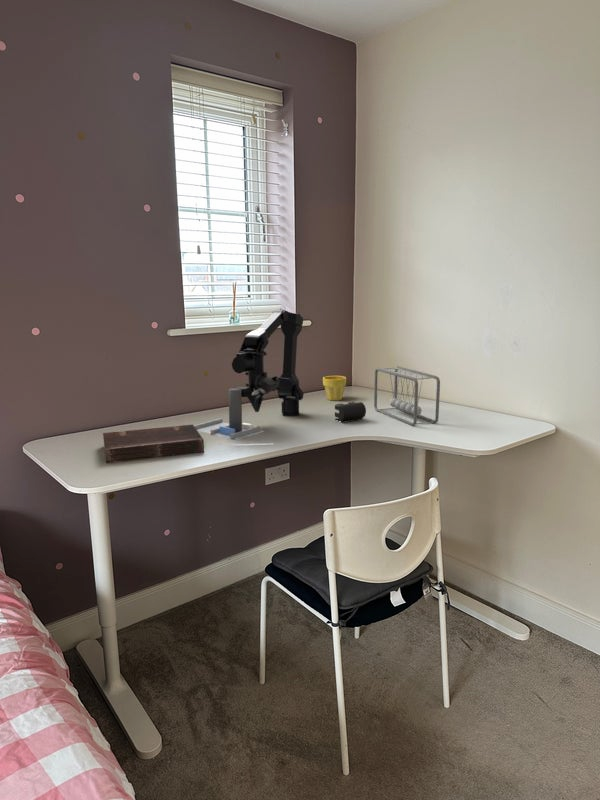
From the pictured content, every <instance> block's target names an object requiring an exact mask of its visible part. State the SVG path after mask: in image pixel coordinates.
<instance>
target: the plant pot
mask: <svg viewBox="0 0 600 800" xmlns="http://www.w3.org/2000/svg"><path fill="white" fill-rule="evenodd" d="M322 385H323V386H324V390H325V394H326V399H327V400H328V401H342V400H343V398H344V391H345V387H346V386H347V377H346V376H343V375H327V376H323V377H322Z"/></svg>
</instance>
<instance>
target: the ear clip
mask: <svg viewBox="0 0 600 800" xmlns="http://www.w3.org/2000/svg"><path fill="white" fill-rule="evenodd" d="M253 427H254V424H252V423H248V422H242V428H245V429H250V428H253Z"/></svg>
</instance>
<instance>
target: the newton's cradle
mask: <svg viewBox="0 0 600 800" xmlns="http://www.w3.org/2000/svg"><path fill="white" fill-rule="evenodd" d="M391 369H394V370H391ZM379 372H382V373H385V374H389V377H390V378H392V377H391V375H393V376H394V383H393V382H392V380H390V383H391V385H393V384H394V387H391V390H392V392H393V394H392V397H393V398H391V399H390V400H389V406H390V407H388V408H379V407H378V373H379ZM403 372H404V373H403ZM407 373H408V374H407ZM409 374H412V375H409ZM414 375H415V376H414ZM418 376H420V378H418ZM398 378H401V379H403V380H406V383H408V384H410V382H411V383H412V384H411V385H412V386H413V388H412V389H413V390H412V394H414V395H412V397H411V399H413V398H414V399H413V400H414V402H413V400H411V401H410V400H408V401H407V400H405V399H407V398H410V394H409V389H410V385H406V387H407V389H406V390H407V392H406V394H407V395H406V398H405V397H404V395H403V392H404V390H403V389H404V386H401V393H400V396H402V397H399V395H398V393H399V390H398V386H399V384H398V383H399V380H400V379H398ZM427 379H428V380H430V379H434V380H436V395H435V400H436V401H435V419H432V418H430V417H426V416H424V415H421V414H422V408H421V406H420V405H419V401H420V397H419V396H420V393H421V392H419V391H421V388H422V386H420V388H419V381H418V380H427ZM408 380H409V381H408ZM373 383H374V385H373V386H374V388H373V389H374V391H373V395H374V396H373V407H374V410H375V411H376V412H378V413H380V412H381V413H380V414H382V413H383V414H382V415H385V416H387V415H388V416H387V417H390V418H392V419H394V418H395V420H397V421H399V422H402V423H405V424H407V425H409V426H411V427H414V426H416V425H422V424H431V423H432V424H437V423H438V421H439V417H440V416H439V414H440V395H441V394H440V389H441V380H440V378H439V377H438V376H437V375H434V374H429V373H426V372H424V371H423V372H422V371H419V370H416V369H415V370H414V369H410V368H407V367H403V366H399V365H398V366H396V367H385V368H384V367H382V368H380V367H377V368H375V370H374V382H373ZM400 383H401V385H404V384H405V381H402V380H400ZM422 383H423V381H421V383H420V385H422ZM402 398H403V400H402ZM412 402H413V403H414V404H413V403H412ZM393 409H396V410H398V409H399V411H401V412H403V411H404V413H406V412H407V413H406V414H408V413H409V415H411V414H412V415H411V416H413V422H411V421H410V420H407V419H404V418H402V417H400V416H398V415H394V414H392V413H389V412H387V411H386V410H393ZM418 418H419V419H422V420H423V421H424V422H418Z"/></svg>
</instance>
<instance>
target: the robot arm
mask: <svg viewBox="0 0 600 800" xmlns="http://www.w3.org/2000/svg"><path fill="white" fill-rule="evenodd" d="M303 323H304V318H303V316H302V315H301V314H300V313H294V312H290V311H287V310H285V309H275V310H273V311H272V313H271V315H270V316H268V318H267V319H266V320H265V321H264V322H263V323H262V324H261V326H259V327H258V328H257V329H254V330H251V331H250V332H249V333H247V334H246V335H244V338H243V341H242V344H241V346H240V349H239V351H238V352H237V353H236V357H233V360H232V362H231V367H232V368H231V369H232V370H233V371H234V372H235V373H237V374H243V373H245V376H247V381H248V382H247V383H245V386H243V385H241V386H236V387H234V388H238V389H241V393H242V398H247V400H248V401H249V403H250V404H251V407H252V409H253V410H254V413H258V412H260V409H261V405H262V402H263V401H264V398H265V397H266V395H268V394H269V393H271V392H277V395H278V396H277V397H278V399H279V400H280V399H281V400H282V401H281V413H282V416H300V401H302V400H303V399H304V392H303V390H302V389H301V387H300V382H299V381H300V380H299V378H298V377H297V374H296V363H297V348H298V346H297V345H298V336H299V335H300V333H301V332H302V328H303ZM279 327H280V330H281V332H282V334H283V336H284V339H283V340H284V341H283V354H282V355H283V358H282V360H283V362H282V372H281V375H280V376H277V375H276V376H272V377H269V376H268V373H267V371H265V364H264V363H265V360H264V359H265V357H264V356H267V355H268V354H267V353H268V352H266V351H265V349H266V347H267V345H268V344H269V343H270V342H269V341H270V340H269V338H270V337H271V335H273V334H274V333H275V332H276V330H277V329H278V328H279Z"/></svg>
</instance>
